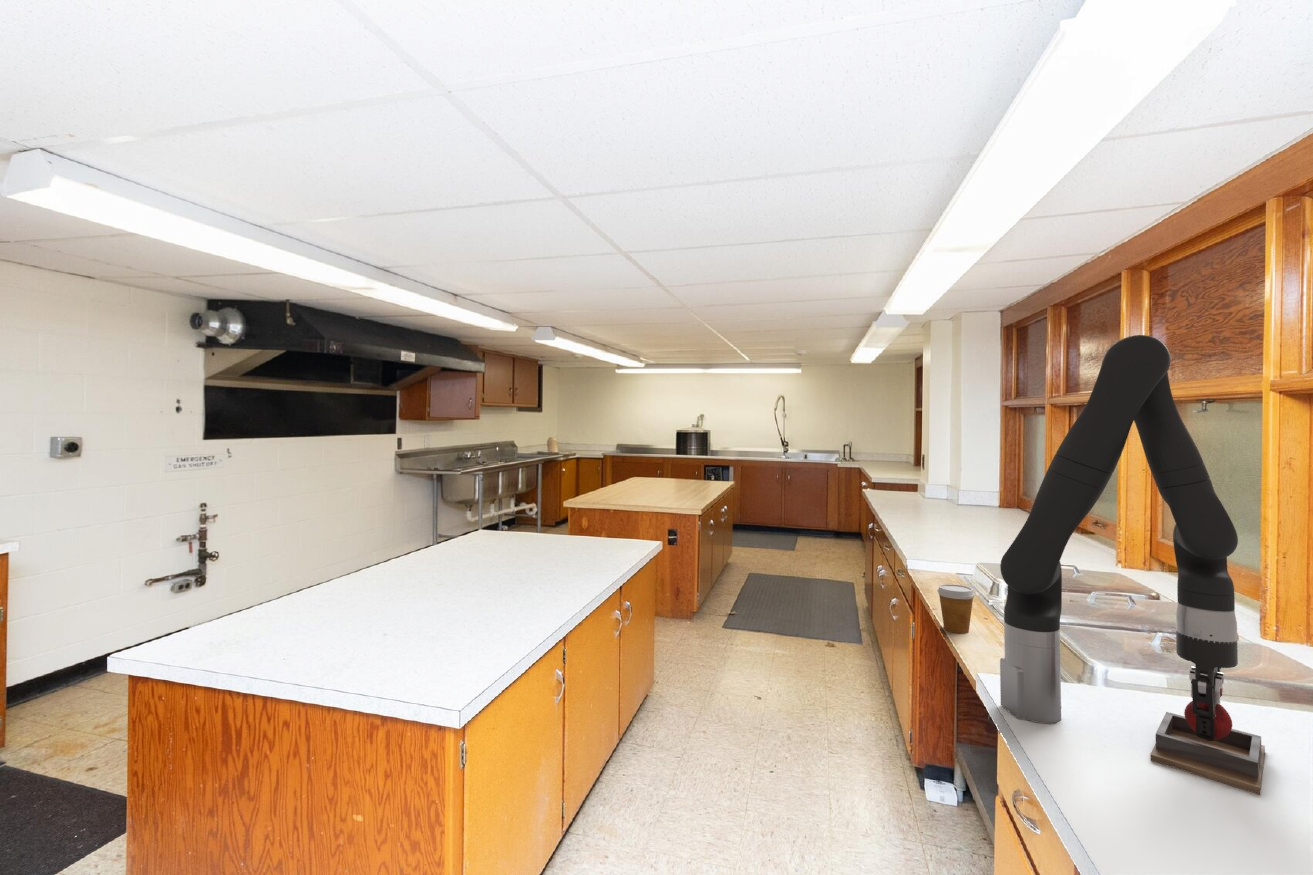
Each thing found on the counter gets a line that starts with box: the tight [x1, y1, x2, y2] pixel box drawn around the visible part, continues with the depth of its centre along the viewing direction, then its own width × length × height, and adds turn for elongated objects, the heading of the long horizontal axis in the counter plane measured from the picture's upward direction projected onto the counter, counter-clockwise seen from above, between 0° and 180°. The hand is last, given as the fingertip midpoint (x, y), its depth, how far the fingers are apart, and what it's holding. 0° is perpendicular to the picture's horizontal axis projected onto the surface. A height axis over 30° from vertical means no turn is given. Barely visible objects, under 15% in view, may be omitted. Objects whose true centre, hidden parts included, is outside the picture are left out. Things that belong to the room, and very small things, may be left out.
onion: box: [1183, 700, 1233, 741], centre depth 97 cm, size 6×6×8 cm
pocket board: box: [1149, 711, 1266, 795], centre depth 97 cm, size 18×13×4 cm
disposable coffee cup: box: [936, 583, 976, 634], centre depth 163 cm, size 10×10×12 cm
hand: (1207, 731), depth 97 cm, fingers closed on onion, 6 cm apart
